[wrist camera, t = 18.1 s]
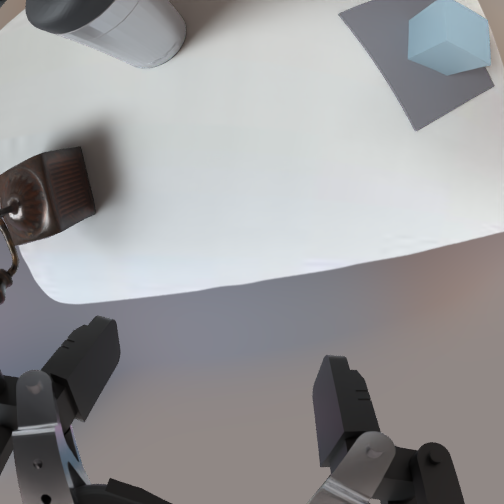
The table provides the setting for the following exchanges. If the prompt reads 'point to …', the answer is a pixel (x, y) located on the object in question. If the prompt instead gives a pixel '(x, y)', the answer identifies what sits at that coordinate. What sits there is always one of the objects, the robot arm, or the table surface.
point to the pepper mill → (42, 201)
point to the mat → (406, 71)
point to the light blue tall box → (449, 38)
